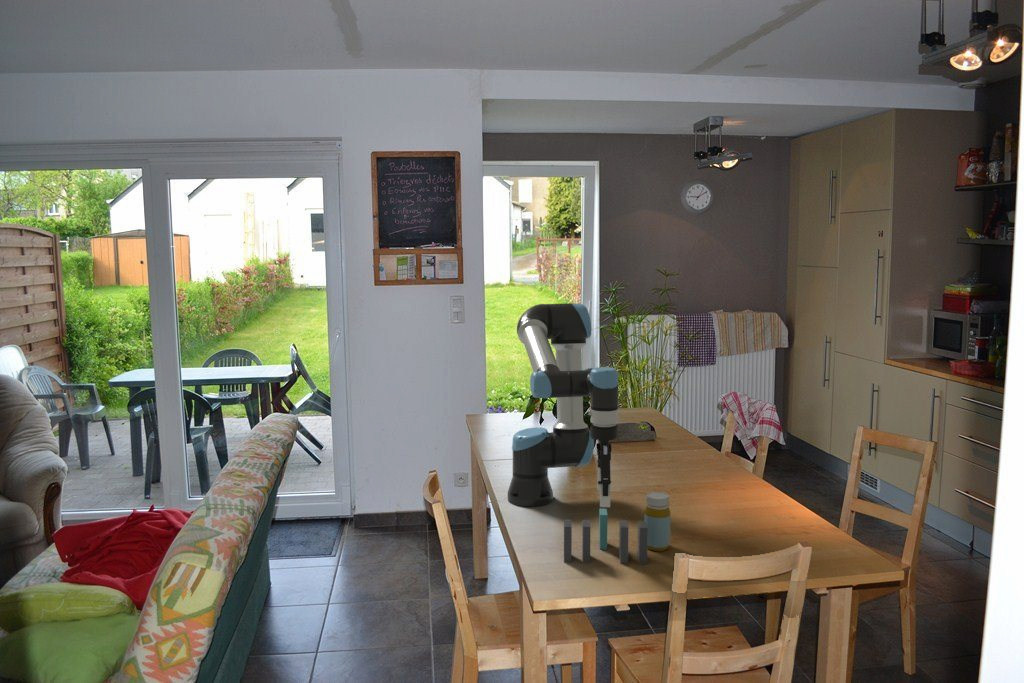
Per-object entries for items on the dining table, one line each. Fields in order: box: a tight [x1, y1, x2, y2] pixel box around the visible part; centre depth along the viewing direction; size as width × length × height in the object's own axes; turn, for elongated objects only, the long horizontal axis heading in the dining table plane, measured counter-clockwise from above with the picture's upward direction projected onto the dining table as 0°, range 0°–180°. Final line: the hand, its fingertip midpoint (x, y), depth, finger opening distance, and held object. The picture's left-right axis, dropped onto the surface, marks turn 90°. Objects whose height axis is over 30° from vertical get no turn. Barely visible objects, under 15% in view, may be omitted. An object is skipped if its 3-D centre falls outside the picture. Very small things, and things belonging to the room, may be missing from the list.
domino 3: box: [598, 508, 608, 551], centre depth 215 cm, size 2×5×10 cm, turn 176°
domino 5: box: [637, 520, 648, 565], centre depth 205 cm, size 2×5×10 cm, turn 176°
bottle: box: [644, 491, 671, 552], centre depth 213 cm, size 7×7×15 cm
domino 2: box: [581, 519, 591, 564], centre depth 206 cm, size 2×5×10 cm, turn 176°
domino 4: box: [618, 520, 629, 564], centre depth 205 cm, size 2×5×10 cm, turn 176°
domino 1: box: [563, 519, 573, 563], centre depth 206 cm, size 2×5×10 cm, turn 177°
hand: (603, 498), depth 213 cm, fingers open, 13 cm apart
